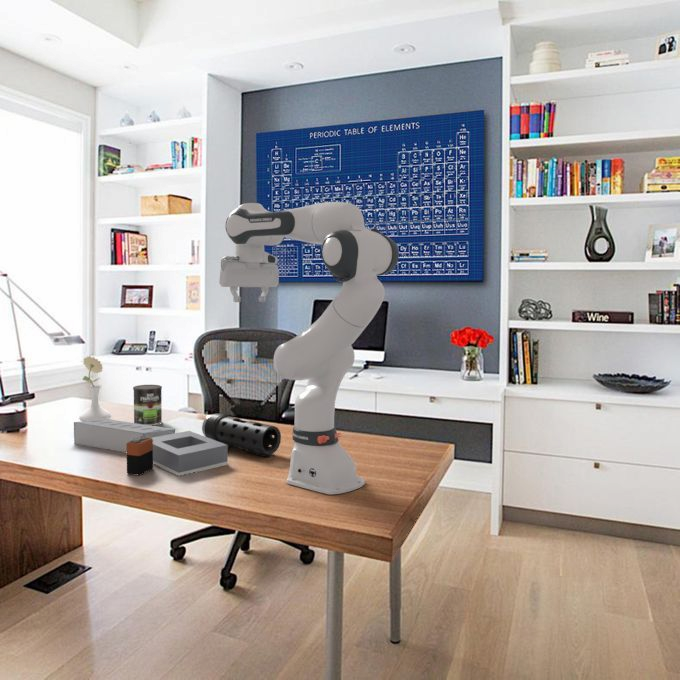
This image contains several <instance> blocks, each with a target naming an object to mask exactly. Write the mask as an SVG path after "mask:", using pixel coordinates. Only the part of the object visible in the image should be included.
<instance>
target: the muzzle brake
mask: <svg viewBox="0 0 680 680" xmlns="http://www.w3.org/2000/svg"><path fill="white" fill-rule="evenodd" d="M201 430H202V433H203V436H205V437H207V438H210V439H213V440H216V441H218V442H221V443H224V444H226V445H228V448H231V447H234V448H239V449H241V450H242V451H247V452H248V453H250V454H255V455H259V456H263V457H267V458H270V457H272V455H273V454H275V453H276V451H278V448H279V447H280V445H281V440H282V434H281V432H280V429H279V428H278V427H277V426H275V425H270V424H267V423H266V424H265V423H261V422H256V421H252V420H247V419H243V418H238V417H233V416H229V415H227V414H225V413H220V412H218V413H217V412H215V413H211V414H209V415H207V416H206V417H205V418H204V420H203V422H202V425H201Z"/></svg>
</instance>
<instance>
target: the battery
mask: <svg viewBox="0 0 680 680" xmlns="http://www.w3.org/2000/svg"><path fill="white" fill-rule="evenodd" d="M126 449H127V453H126V474H127V473H128V474H127V475H132V474H138V475H137V476H141V475H143V474H145V473H146V471H147V472H149V471H151V470H153V468H154V464H153V439H152V438H146V436H145V435H143V436H141V437H139V438H133V439H132V441H129V442H127V443H126ZM150 469H151V470H150ZM148 470H149V471H148ZM144 472H145V473H144ZM142 473H143V474H142ZM140 474H141V475H140Z"/></svg>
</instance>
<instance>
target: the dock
mask: <svg viewBox="0 0 680 680" xmlns="http://www.w3.org/2000/svg"><path fill="white" fill-rule="evenodd" d="M152 439H153V463H154V464H153V465H155V464H156V465H155V466H157V465H158V466H157V467H159V466H160V467H159V468H161V467H162V468H161V469H163V468H164V469H163V470H165V469H166V470H165V471H167V470H168V471H167V472H169V471H170V472H169V473H171V472H172V473H171V474H173V473H175V474H177V475H182V476H184V475H183V474H186V475H189V474H188V473H191V474H194V473H193V472H195V473H199V472H202V471H207V470H210V469H214V468H215V469H216V468H219V467H223V466H227V465H228V458H229V456H228V450H229V447H228V445H226V444H224V443H221V442H218V441H216V440H213V439H210V438H207V437H205V436H204V435H202V434H199V433H196V432H195V431H191V430H187V431H186V430H185V431H182V432H180V431H179V432H175V433H174V434H169V435H163V436H158V437H152ZM198 471H199V472H198ZM175 474H174V475H175ZM177 475H176V476H177Z"/></svg>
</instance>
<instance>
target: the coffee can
mask: <svg viewBox="0 0 680 680" xmlns="http://www.w3.org/2000/svg"><path fill="white" fill-rule="evenodd" d="M132 389H133V423H137V424H144V425H150V426H152V425H155V426H157V425H156V424H159V425H161V424H162V422H163V420H162V414H163V410H162V396H163V395H162V389H163V386H162V385H159V384H140V385H135V386H133V387H132ZM160 423H161V424H160Z"/></svg>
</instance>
